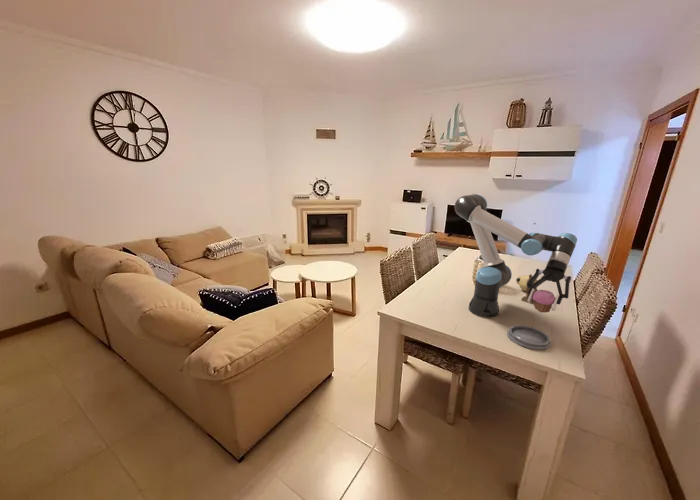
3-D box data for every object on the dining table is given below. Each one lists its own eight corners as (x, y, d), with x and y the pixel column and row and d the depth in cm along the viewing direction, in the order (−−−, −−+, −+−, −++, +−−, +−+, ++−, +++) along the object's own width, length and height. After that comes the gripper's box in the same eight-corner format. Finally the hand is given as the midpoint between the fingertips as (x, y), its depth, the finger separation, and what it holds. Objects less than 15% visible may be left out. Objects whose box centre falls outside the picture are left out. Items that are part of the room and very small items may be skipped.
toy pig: (520, 285, 193) (523, 270, 190) (539, 292, 183) (542, 276, 180) (511, 288, 188) (514, 273, 185) (530, 295, 178) (534, 279, 175)
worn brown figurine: (520, 304, 173) (518, 274, 171) (524, 301, 176) (522, 272, 174) (543, 307, 163) (541, 276, 161) (547, 305, 166) (545, 274, 164)
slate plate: (499, 336, 135) (500, 331, 135) (518, 325, 144) (519, 321, 144) (539, 355, 122) (540, 350, 121) (557, 342, 131) (558, 337, 130)
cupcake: (557, 314, 130) (561, 294, 127) (539, 316, 129) (543, 296, 126) (542, 305, 139) (546, 286, 136) (525, 306, 138) (529, 287, 135)
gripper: (586, 273, 131) (569, 317, 126) (532, 261, 146) (515, 300, 141) (586, 265, 126) (569, 311, 121) (530, 254, 141) (513, 294, 136)
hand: (540, 305), depth 131 cm, fingers closed on cupcake, 9 cm apart
